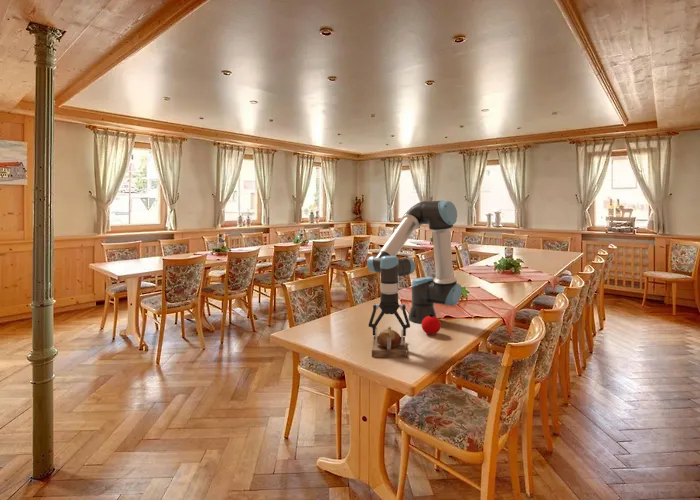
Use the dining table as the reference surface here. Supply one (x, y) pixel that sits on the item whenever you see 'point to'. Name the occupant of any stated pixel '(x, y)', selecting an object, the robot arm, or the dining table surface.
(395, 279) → the robot arm
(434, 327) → the ornament
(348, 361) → the dining table surface
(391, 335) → the bread roll
